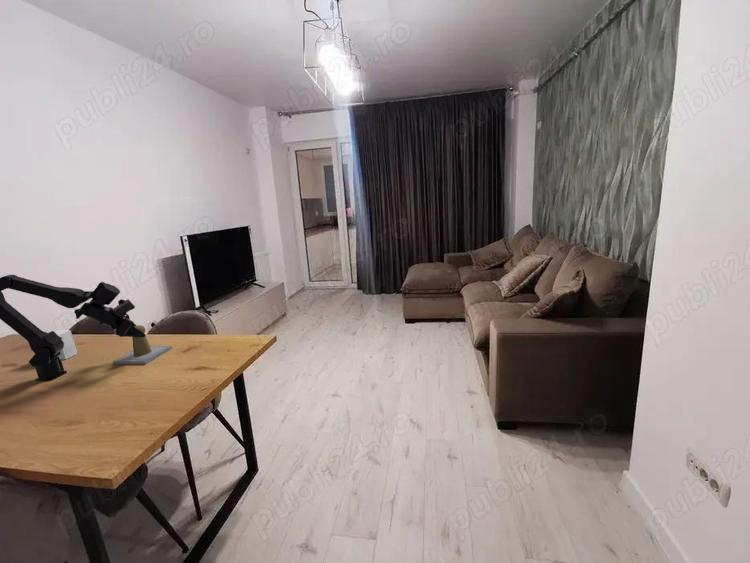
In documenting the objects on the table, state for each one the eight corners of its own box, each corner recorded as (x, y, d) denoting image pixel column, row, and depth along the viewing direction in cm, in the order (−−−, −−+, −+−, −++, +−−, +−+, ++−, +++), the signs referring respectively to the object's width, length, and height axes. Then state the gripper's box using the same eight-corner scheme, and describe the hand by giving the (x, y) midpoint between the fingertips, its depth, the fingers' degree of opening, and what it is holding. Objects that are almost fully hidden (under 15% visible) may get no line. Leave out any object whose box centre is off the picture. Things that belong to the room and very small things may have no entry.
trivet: (146, 364, 135) (145, 360, 135) (113, 364, 138) (112, 360, 138) (172, 348, 149) (171, 345, 149) (142, 348, 151) (141, 345, 151)
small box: (78, 353, 151) (71, 330, 149) (65, 359, 146) (58, 335, 143) (60, 354, 152) (53, 330, 150) (47, 360, 147) (40, 335, 144)
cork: (134, 352, 145) (128, 325, 142) (152, 348, 147) (146, 322, 144) (132, 357, 139) (125, 330, 137) (150, 353, 142) (144, 326, 139)
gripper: (119, 299, 128) (161, 320, 137) (113, 291, 142) (152, 311, 151) (97, 326, 125) (141, 346, 134) (93, 315, 139) (134, 334, 148)
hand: (142, 333), depth 142 cm, fingers open, 9 cm apart
